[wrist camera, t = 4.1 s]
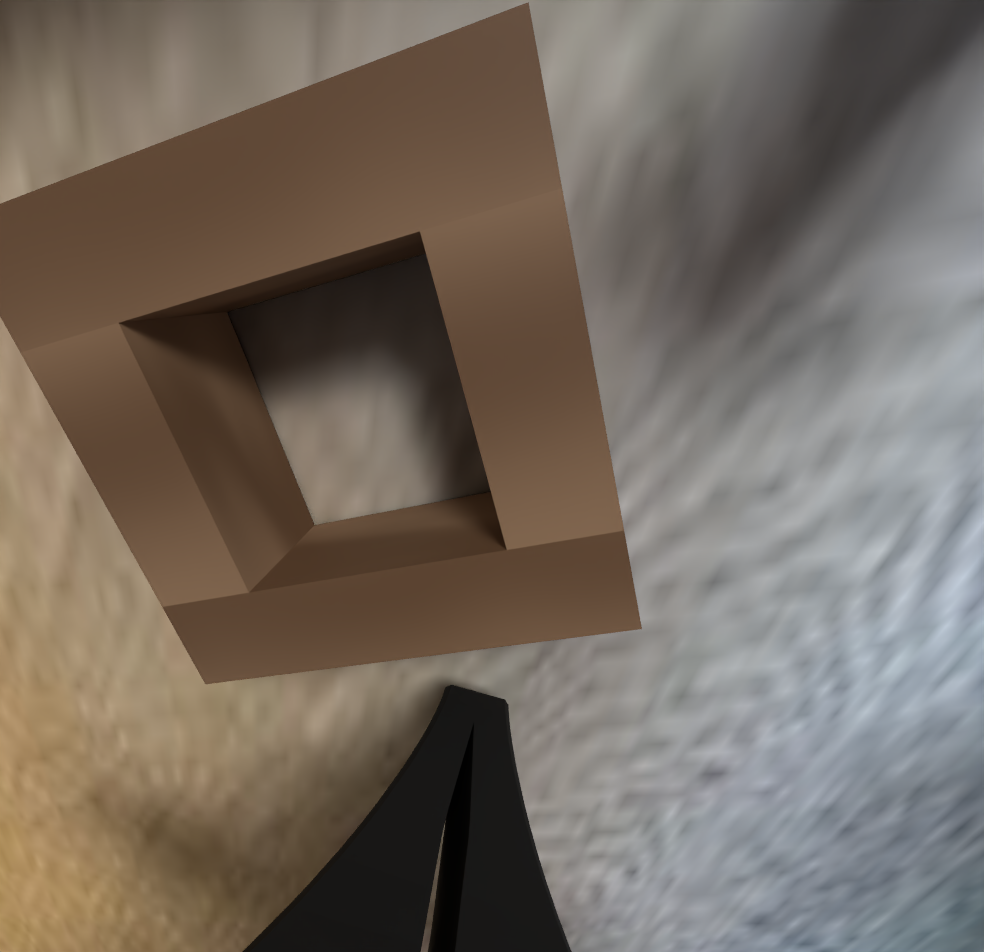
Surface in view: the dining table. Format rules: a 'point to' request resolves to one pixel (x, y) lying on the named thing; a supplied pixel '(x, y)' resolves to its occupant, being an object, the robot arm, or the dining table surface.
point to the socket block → (303, 264)
